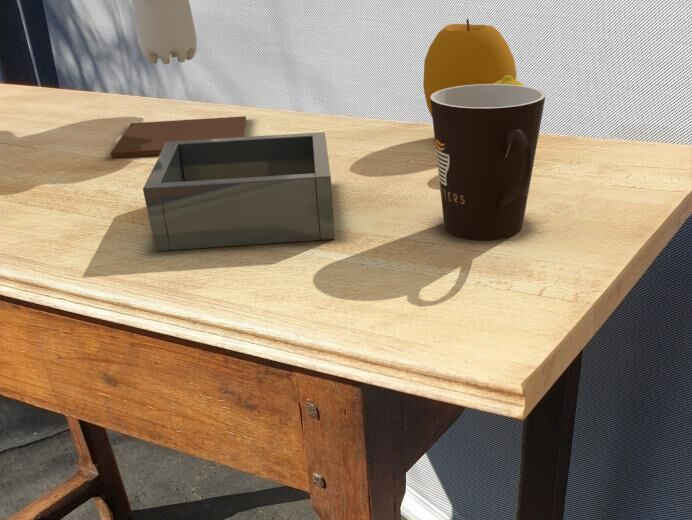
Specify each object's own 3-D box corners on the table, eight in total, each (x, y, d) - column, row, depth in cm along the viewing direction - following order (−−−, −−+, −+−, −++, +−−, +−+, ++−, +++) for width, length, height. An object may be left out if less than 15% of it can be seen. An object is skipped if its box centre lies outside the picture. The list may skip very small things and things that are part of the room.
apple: (524, 131, 93) (531, 13, 86) (493, 153, 86) (497, 26, 80) (444, 125, 97) (445, 11, 90) (408, 145, 90) (406, 24, 83)
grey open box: (155, 251, 66) (142, 188, 63) (176, 197, 78) (166, 141, 75) (335, 239, 67) (330, 176, 64) (329, 187, 79) (325, 131, 76)
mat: (111, 158, 91) (110, 152, 90) (132, 128, 102) (131, 123, 102) (240, 150, 91) (239, 144, 91) (246, 121, 103) (245, 116, 102)
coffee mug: (437, 208, 72) (437, 84, 67) (537, 210, 71) (546, 83, 65) (418, 257, 63) (417, 118, 57) (534, 261, 62) (544, 118, 56)
